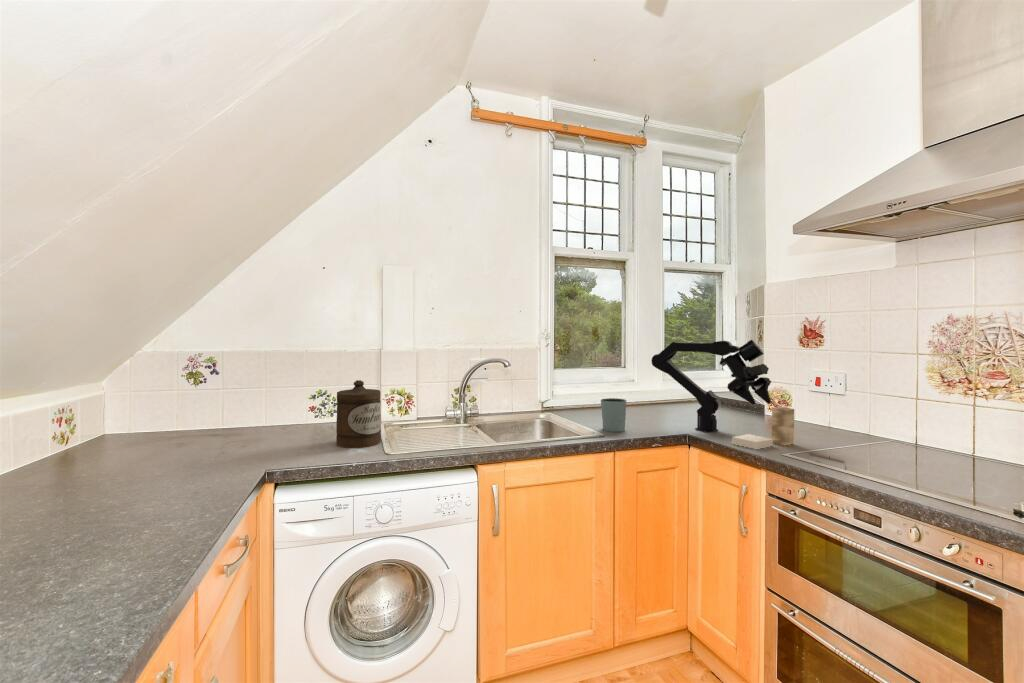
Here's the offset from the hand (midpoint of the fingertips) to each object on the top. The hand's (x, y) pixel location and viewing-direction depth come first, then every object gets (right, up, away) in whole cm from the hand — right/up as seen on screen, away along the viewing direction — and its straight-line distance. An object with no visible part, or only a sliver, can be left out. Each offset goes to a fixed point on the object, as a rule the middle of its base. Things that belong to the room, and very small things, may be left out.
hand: (762, 403), depth 173 cm
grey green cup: (-51, -13, +17) cm, 55 cm away
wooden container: (-145, -13, -6) cm, 145 cm away
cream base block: (-8, -14, -8) cm, 18 cm away
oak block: (+4, -13, -6) cm, 15 cm away
